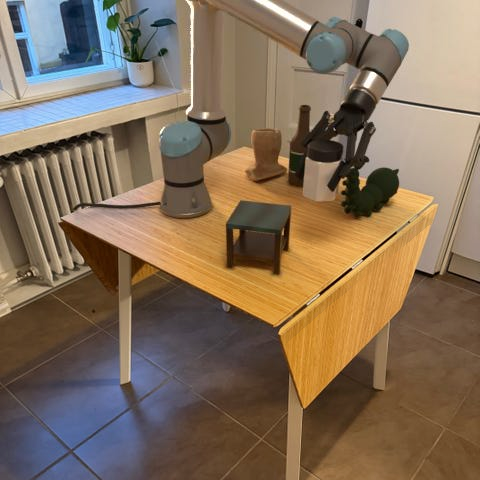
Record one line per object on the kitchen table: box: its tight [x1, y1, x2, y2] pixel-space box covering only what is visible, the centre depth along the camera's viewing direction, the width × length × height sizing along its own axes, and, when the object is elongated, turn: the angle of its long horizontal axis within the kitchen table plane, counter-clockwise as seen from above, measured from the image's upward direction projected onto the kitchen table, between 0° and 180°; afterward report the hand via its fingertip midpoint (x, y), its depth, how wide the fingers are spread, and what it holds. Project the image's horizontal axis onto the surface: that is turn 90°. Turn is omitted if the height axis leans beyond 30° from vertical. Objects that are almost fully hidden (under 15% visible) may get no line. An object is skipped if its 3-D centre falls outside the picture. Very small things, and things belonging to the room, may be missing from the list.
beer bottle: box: [287, 104, 312, 188], centre depth 148 cm, size 8×8×24 cm
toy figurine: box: [340, 155, 400, 218], centre depth 134 cm, size 9×19×25 cm
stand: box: [225, 199, 292, 276], centre depth 115 cm, size 13×13×12 cm
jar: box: [302, 139, 344, 203], centre depth 111 cm, size 9×8×12 cm
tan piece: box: [244, 127, 289, 182], centre depth 157 cm, size 15×12×15 cm
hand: (313, 182), depth 111 cm, fingers closed on jar, 9 cm apart
